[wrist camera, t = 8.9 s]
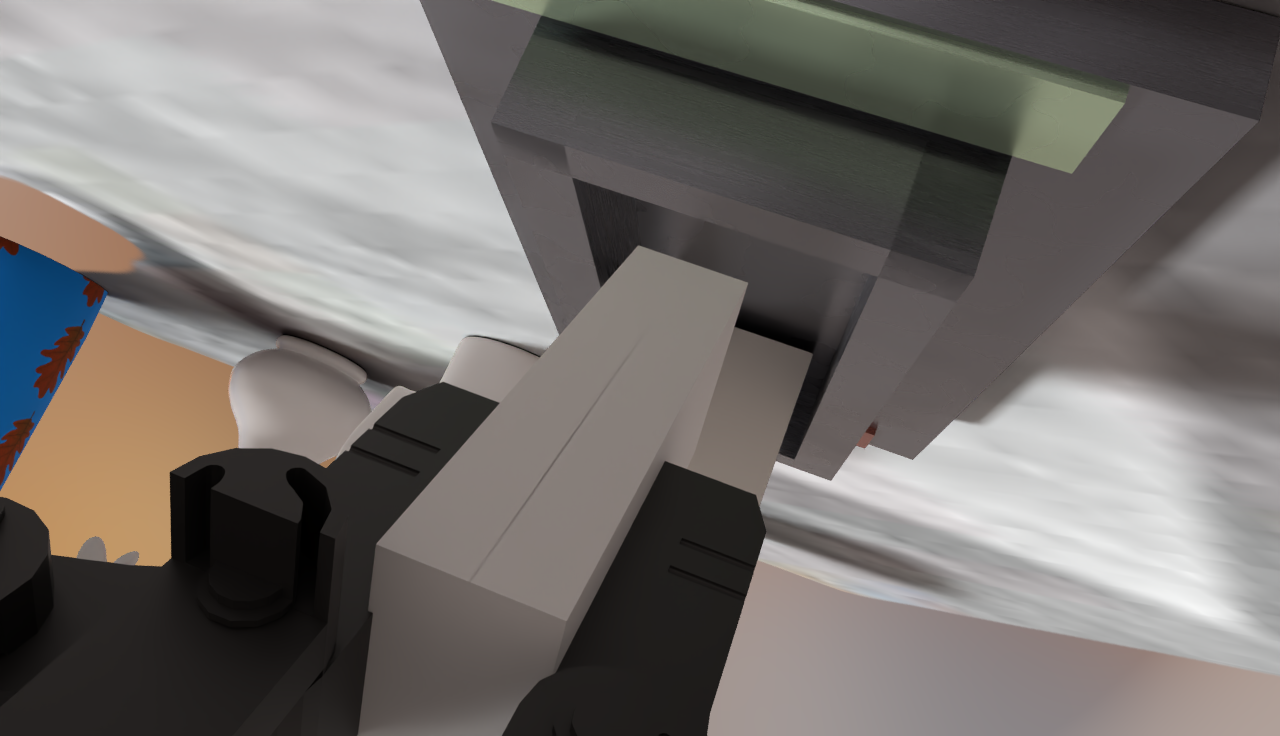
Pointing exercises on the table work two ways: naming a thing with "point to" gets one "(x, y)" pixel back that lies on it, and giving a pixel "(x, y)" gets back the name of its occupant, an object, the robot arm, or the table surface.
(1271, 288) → the table surface
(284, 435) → the flower vase
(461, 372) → the mug
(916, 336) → the dark gray tray
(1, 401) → the leaf-print blue block
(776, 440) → the toggle
